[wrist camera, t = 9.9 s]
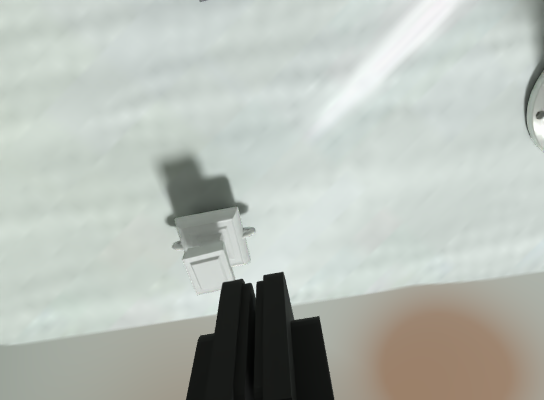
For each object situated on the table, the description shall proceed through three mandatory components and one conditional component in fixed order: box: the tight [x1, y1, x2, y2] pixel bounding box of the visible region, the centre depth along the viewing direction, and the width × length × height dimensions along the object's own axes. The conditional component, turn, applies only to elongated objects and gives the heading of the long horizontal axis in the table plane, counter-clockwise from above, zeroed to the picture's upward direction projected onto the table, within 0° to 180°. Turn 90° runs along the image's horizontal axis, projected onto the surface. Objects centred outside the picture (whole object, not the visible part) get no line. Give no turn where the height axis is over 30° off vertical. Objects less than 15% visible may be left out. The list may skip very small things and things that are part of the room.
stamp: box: [172, 206, 256, 295], centre depth 42 cm, size 9×7×8 cm
